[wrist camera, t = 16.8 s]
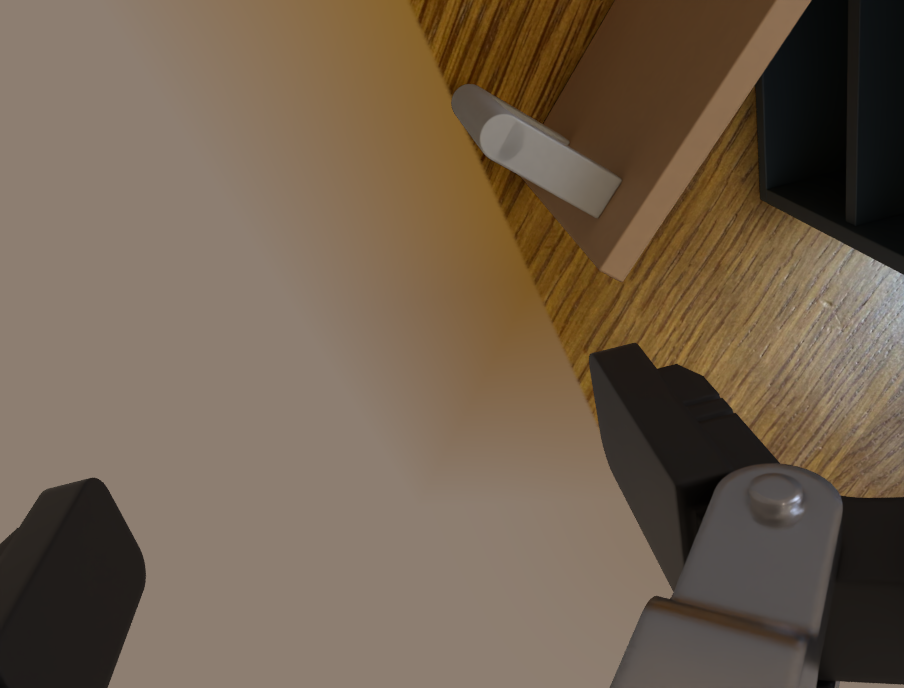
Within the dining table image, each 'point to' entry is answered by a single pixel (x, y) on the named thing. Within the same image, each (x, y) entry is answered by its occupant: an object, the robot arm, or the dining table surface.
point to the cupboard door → (633, 116)
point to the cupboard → (838, 125)
